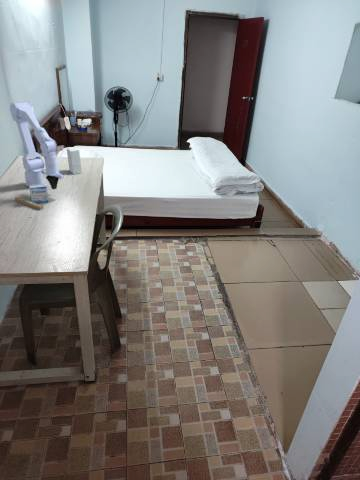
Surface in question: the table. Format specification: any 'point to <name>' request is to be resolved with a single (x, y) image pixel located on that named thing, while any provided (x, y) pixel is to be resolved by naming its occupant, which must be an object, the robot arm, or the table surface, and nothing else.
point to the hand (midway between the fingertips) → (54, 188)
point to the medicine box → (39, 193)
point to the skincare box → (74, 160)
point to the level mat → (32, 204)
